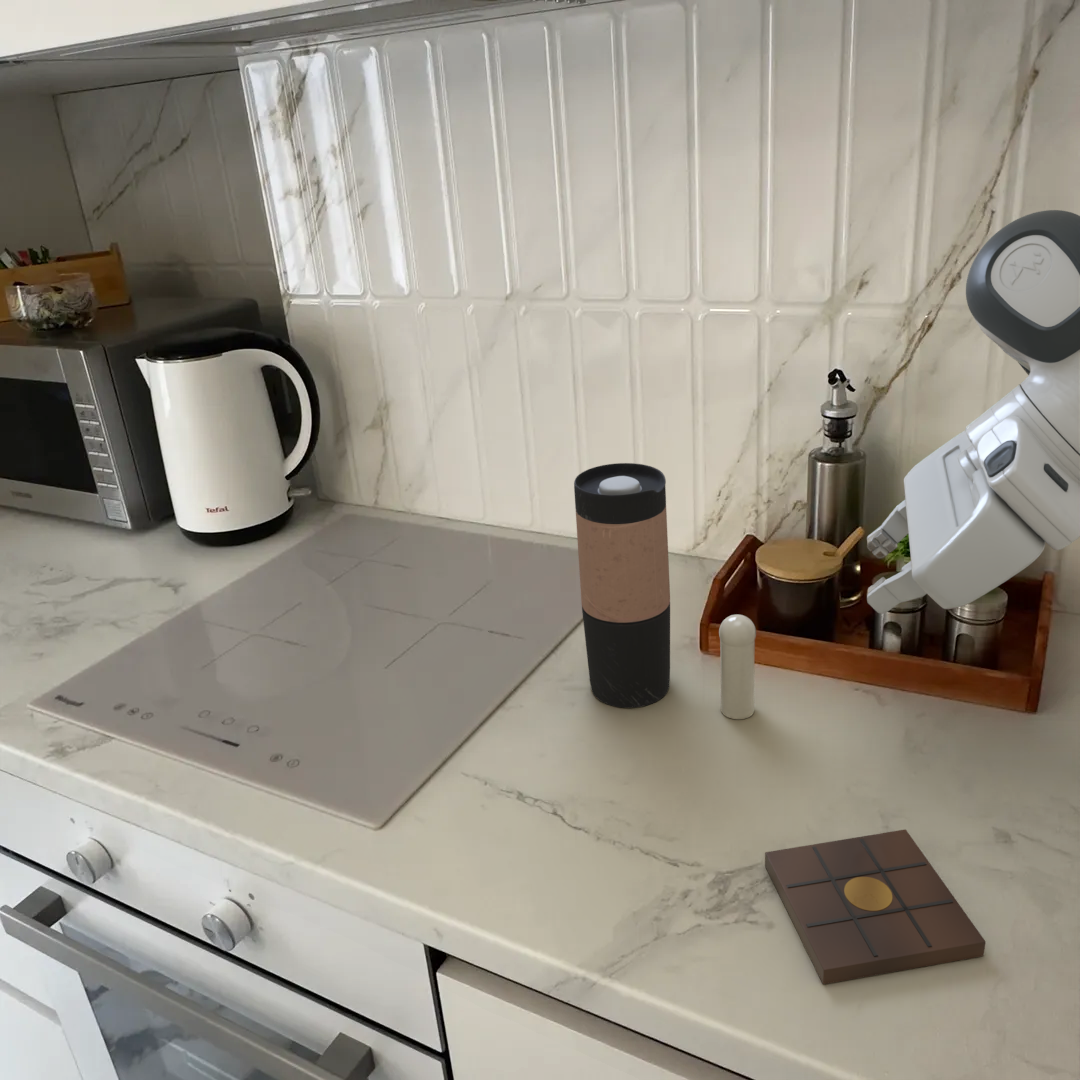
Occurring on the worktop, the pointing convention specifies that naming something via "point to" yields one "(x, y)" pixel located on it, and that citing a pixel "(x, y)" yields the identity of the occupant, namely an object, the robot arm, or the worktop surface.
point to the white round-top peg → (737, 666)
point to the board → (871, 907)
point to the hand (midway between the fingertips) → (872, 575)
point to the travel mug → (624, 581)
